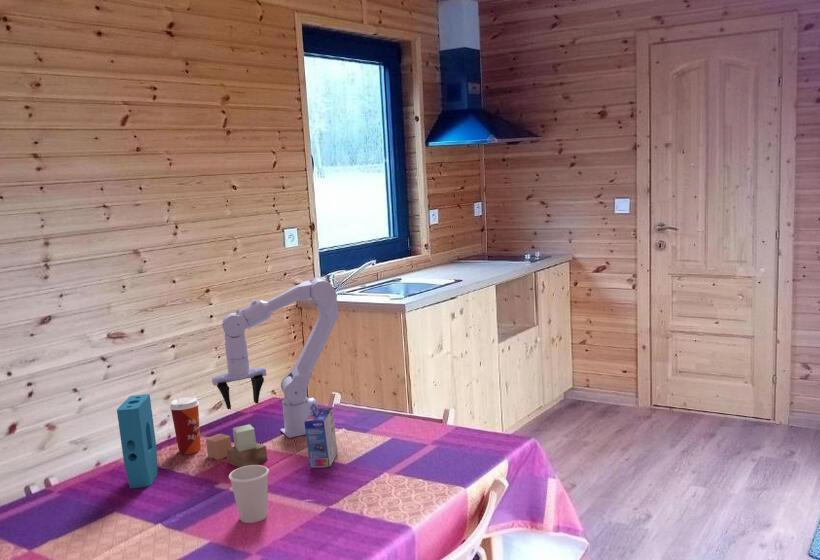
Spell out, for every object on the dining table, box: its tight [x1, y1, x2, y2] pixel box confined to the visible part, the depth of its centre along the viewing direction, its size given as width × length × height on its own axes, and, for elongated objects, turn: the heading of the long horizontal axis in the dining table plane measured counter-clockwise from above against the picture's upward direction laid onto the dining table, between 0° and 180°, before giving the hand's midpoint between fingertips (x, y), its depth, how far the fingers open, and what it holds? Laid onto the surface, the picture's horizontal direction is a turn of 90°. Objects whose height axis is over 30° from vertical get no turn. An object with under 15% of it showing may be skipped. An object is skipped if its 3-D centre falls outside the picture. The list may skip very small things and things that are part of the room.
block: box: [116, 393, 159, 489], centre depth 188 cm, size 12×5×20 cm, turn 4°
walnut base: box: [227, 442, 268, 468], centre depth 196 cm, size 7×7×4 cm
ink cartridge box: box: [304, 403, 338, 469], centre depth 192 cm, size 10×6×14 cm, turn 174°
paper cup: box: [169, 396, 201, 455], centre depth 207 cm, size 8×8×14 cm
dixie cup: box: [228, 464, 270, 524], centre depth 163 cm, size 8×8×10 cm
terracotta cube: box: [205, 433, 232, 461], centre depth 202 cm, size 4×4×5 cm
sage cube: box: [232, 423, 257, 452], centre depth 196 cm, size 4×4×5 cm
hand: (242, 405), depth 211 cm, fingers open, 7 cm apart
